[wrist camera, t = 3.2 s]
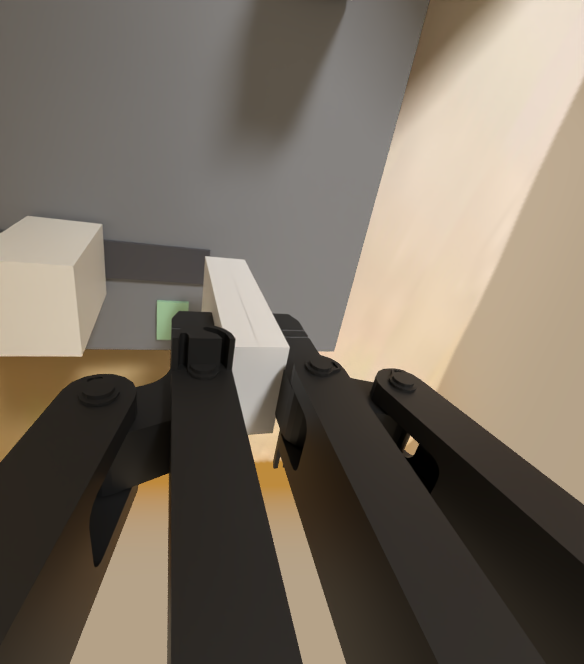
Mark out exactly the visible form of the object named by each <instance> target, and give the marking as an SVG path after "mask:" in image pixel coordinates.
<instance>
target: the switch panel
mask: <svg viewBox="0 0 584 664" xmlns="http://www.w3.org/2000/svg"><path fill="white" fill-rule="evenodd" d="M429 2H430V0H0V233H2V232H3V231H5V230H6V229H8V228H9V227H11V226H12V225H14V224H15V223H17V222H19V221H20V220H22V219H23V218H25V217H26V216H34V217H43V218H53V219H62V220H71V221H80V222H89V223H98V224H102V225H103V243H104V260H105V278H106V296H105V299H104V302H103V304H102V307H101V309H100V312H99V314H98V317H97V320H96V322H95V325H94V327H93V330H92V332H91V335H90V338H89V340H88V343H87V345H86V348H85V349H124V350H171V324H172V318H173V316H174V315H175V314H176V313H177V312H178V311H194V312H201V311H202V297H203V282H204V267H205V256H209V257H220V258H232V259H243V260H245V261H246V263H247V265H248V267H249V269H250V271H251V273H252V275H253V277H254V279H255V281H256V283H257V285H258V287H259V289H260V290H261V292H262V294H263V296H264V298H265V300H266V302H267V304H268V306H269V308H270V310H271V312H272V313H275V314H289V315H291V316H292V317H293V318H295V319H296V320H298V321H299V322H300V324H301V326H302V327H303V329H304V331H305V332H306V334H307V335H308V338H310V340H311V342H312V343H313V345H314V346H315V348H316V350H317V351H334V349H335V346H336V342H337V338H338V335H339V331H340V328H341V324H342V320H343V317H344V313H345V309H346V306H347V302H348V298H349V295H350V291H351V287H352V284H353V280H354V276H355V273H356V269H357V265H358V262H359V258H360V254H361V251H362V247H363V243H364V240H365V236H366V232H367V229H368V225H369V221H370V218H371V214H372V210H373V207H374V203H375V199H376V196H377V192H378V188H379V185H380V181H381V177H382V174H383V170H384V166H385V163H386V159H387V155H388V152H389V148H390V144H391V141H392V137H393V133H394V130H395V126H396V122H397V119H398V115H399V111H400V108H401V104H402V100H403V97H404V93H405V89H406V86H407V82H408V78H409V75H410V71H411V68H412V64H413V60H414V57H415V53H416V49H417V46H418V42H419V38H420V35H421V31H422V27H423V24H424V20H425V16H426V13H427V9H428V5H429Z"/></svg>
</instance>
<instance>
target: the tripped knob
mask: <svg viewBox="0 0 584 664" xmlns="http://www.w3.org/2000/svg"><path fill="white" fill-rule="evenodd" d="M105 296H106V278H105V260H104V243H103V225H102V224H98V223H89V222H80V221H71V220H62V219H53V218H43V217H34V216H26V217H25V218H23V219H22V220H20V221H19V222H17V223H15V224H14V225H12V226H11V227H9V228H8V229H6V230H5V231H3V232H2V233H0V356H78V357H82V356H83V353H84V350H85V348H86V345H87V343H88V340H89V338H90V335H91V332H92V330H93V327H94V325H95V322H96V320H97V317H98V314H99V312H100V309H101V307H102V304H103V302H104V299H105Z"/></svg>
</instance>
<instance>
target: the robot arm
mask: <svg viewBox="0 0 584 664" xmlns="http://www.w3.org/2000/svg"><path fill="white" fill-rule="evenodd" d="M275 418H276V419H277V421H278V424H279V427H280V432H279V436H278V441H277V446H276V450H275V455H274V460H273V468H278V464H279V459H280V457H281V459H282V462H283V467H284V468H285V471H286V475H287V478H288V481H289V484H290V487H291V490H292V494H293V496H294V500H295V503H296V506H297V509H298V512H299V516H300V518H301V521H302V525H303V528H304V531H305V534H306V538H307V541H308V544H309V547H310V550H311V553H312V557H313V560H314V563H315V566H316V569H317V572H318V576H319V579H320V582H321V585H322V588H323V591H324V595H325V598H326V601H327V604H328V607H329V610H330V613H331V616H332V620H333V623H334V626H335V629H336V632H337V635H338V639H339V642H340V645H341V648H342V651H343V655H344V658H345V661H346V664H584V505H583V504H582V503H581V502H579V501H578V500H577V499H575V498H574V497H573V496H572V495H570V494H569V493H568V492H566V491H565V490H564V489H562V488H561V487H560V486H558V485H557V484H556V483H555V482H553V481H552V480H551V479H549V478H548V477H547V476H545V475H544V474H543V473H541V472H540V471H539V470H537V469H536V468H535V467H534V466H532V465H531V464H530V463H528V462H527V461H526V460H525V459H523V458H522V457H521V456H519V455H518V454H517V453H515V452H514V451H513V450H512V449H510V448H509V447H508V446H506V445H505V444H504V443H502V442H501V441H500V440H498V439H497V438H496V437H495V436H493V435H492V434H491V433H489V432H488V431H486V430H485V429H484V428H483V427H482V426H480V425H479V424H478V423H476V422H475V421H474V420H472V419H471V418H470V417H468V416H467V415H466V414H464V413H463V412H462V411H460V410H459V409H458V408H457V407H455V406H454V405H453V404H451V403H450V402H449V401H448V400H446V399H445V398H443V397H442V396H441V395H440V394H438V393H437V392H436V391H435V390H433V389H432V388H431V387H429V386H428V385H427V384H425V383H424V382H423V381H421V380H420V379H419V378H417V377H415V376H414V375H412V374H410V373H407V372H405V371H404V370H400V369H399V370H398V369H383V370H380V371H378V373H377V375H376V377H375V380H374V382H368V381H363V380H358V379H353V378H350V377H349V375H348V374H347V372H346V371H345V369H344V368H343V367H342V366H341V365H340V364H339V363H338V362H336V361H334V360H332V359H331V358H328V357H325V356H321V355H320V354H319V353H318V351H317V350H316V348H315V346H314V345H313V343H312V342H311V340H310V338H308V335H307V334H306V332H305V331H304V329H303V327H302V326H301V324H300V322H299V321H298V320H296V319H295V318H293V317H292V316H291V315H289V314H275V313H272V312H271V310H270V308H269V306H268V304H267V302H266V300H265V298H264V296H263V294H262V292H261V290H260V289H259V287H258V285H257V283H256V281H255V279H254V277H253V275H252V273H251V271H250V269H249V267H248V265H247V263H246V261H245V260H243V259H232V258H220V257H209V256H205V267H204V282H203V297H202V311H201V312H194V311H178V312H177V313H176V314H175V315H174V316H173V318H172V324H171V364H170V370H169V372H168V373H167V374H166V375H165V376H164V377H163V378H161V379H160V380H158V381H156V382H154V383H150V384H147V385H144V386H139V387H135V386H134V384H133V382H131V381H130V380H128V379H127V378H125V377H122V376H118V375H114V374H97V375H92V376H87V377H83V378H81V379H79V380H76V381H74V382H72V383H70V384H69V385H68V386H67V387H65V388H64V389H63V390H62V391H61V392H60V393H59V394H58V396H57V397H56V398H55V399H54V400H53V401H52V403H51V404H50V405H49V406H48V407H47V408H46V410H45V411H44V412H43V413H42V414H41V415H40V417H39V418H38V419H37V420H36V421H35V422H34V424H33V425H32V426H31V427H30V428H29V429H28V431H27V432H26V433H25V434H24V435H23V437H22V438H21V439H20V440H19V441H18V442H17V444H16V445H15V446H14V447H13V448H12V449H11V451H10V452H9V453H8V454H7V455H6V456H5V458H4V459H3V460H2V461H1V462H0V664H70V661H71V659H72V656H73V654H74V651H75V649H76V646H77V644H78V641H79V638H80V636H81V633H82V630H83V628H84V626H85V623H86V621H87V618H88V615H89V613H90V610H91V608H92V605H93V603H94V600H95V597H96V595H97V593H98V590H99V587H100V585H101V582H102V580H103V577H104V575H105V572H106V570H107V567H108V564H109V562H110V559H111V557H112V554H113V551H114V549H115V547H116V544H117V541H118V539H119V536H120V534H121V531H122V528H123V526H124V524H125V521H126V519H127V516H128V513H129V511H130V508H131V506H132V503H133V501H134V498H135V496H136V493H137V490H138V485H139V484H141V483H144V482H146V481H149V480H152V479H154V478H157V477H160V476H162V475H165V474H168V473H169V528H168V538H169V539H168V641H167V649H168V650H167V664H303V663H302V659H301V655H300V651H299V646H298V642H297V638H296V634H295V630H294V626H293V621H292V618H291V613H290V609H289V605H288V601H287V597H286V592H285V588H284V584H283V580H282V576H281V572H280V568H279V563H278V559H277V555H276V551H275V547H274V542H273V538H272V534H271V531H270V526H269V522H268V518H267V513H266V510H265V506H264V501H263V497H262V493H261V489H260V484H259V480H258V476H257V472H256V468H255V464H254V459H253V455H252V451H251V447H250V443H249V439H248V435H251V434H265V433H273V428H274V423H275ZM410 435H411V436H412V437H413V438H414V439H415V440H416V441H417V442H418V443H419V446H418V448H417V450H416V452H415V454H414V455H410V454H409V453H407V452H406V451H405V450H404V449H405V447H406V444H407V442H408V440H409V437H410Z"/></svg>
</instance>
